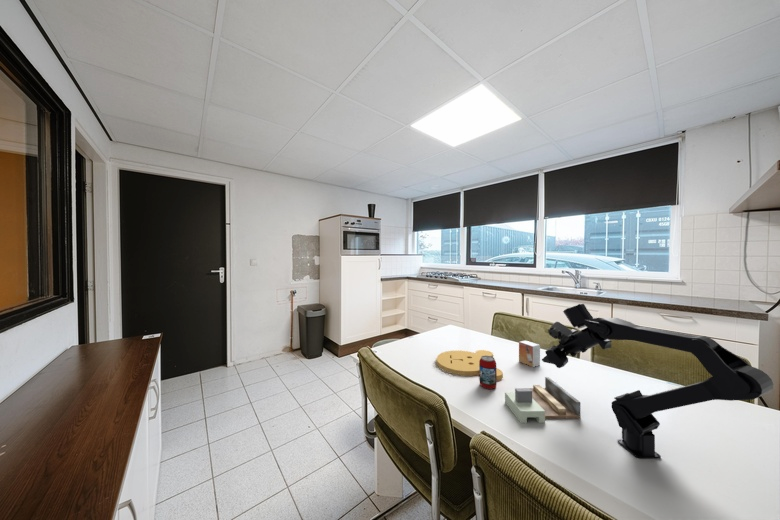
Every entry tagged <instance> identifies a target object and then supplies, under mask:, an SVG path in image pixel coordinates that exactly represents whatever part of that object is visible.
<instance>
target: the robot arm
mask: <svg viewBox="0 0 780 520" xmlns="http://www.w3.org/2000/svg"><path fill="white" fill-rule="evenodd" d="M562 312H563V314H564V315H565V317H566V318H567V320H568V321H569V323H570V324H571V326H572V327H573V328H572V329H570V328H569V327H567V326H566V325H564V324H563V323H561V322H559V321H555V322H554V323H552V324H551V326H550V328H548V329H547V332H548V335H549V336H551V338H553V339H555V340H556V339H557V340H558V345H552V346H550V347H549V348H548V349H546V350H545V351H544V353H545V356H544V357H543V358H541V361H542V362H543V363H547V364H551V365H554V366H555V367H556V368H558V369H561V368H563V367H565V366H566V365H567V364H568V363H569V358H568V357H567V356H569V355H570V356H571V357H572V358H573V357H576V356H577V354H578V353H585V352H587V351H588V350H589V349H591V348H594V347H596V346H600V347H601V349H602V350H608V349H611V348H612V340H613V341H636V342H640V343H645V344H649V345H653V346H658V347H663V348H668V349H672V350H676V351H681V352H687V353H691V354H692V355H693V356H694V357H695V358H697V360H698V361H699V362H700V364H701V365H702V366H703V368H704V369H705V371H707V373H709V374H710V375H711V377H709V378H707V379H705V380H703V381H700V382H695V383H691V384H687V385H684V386H680V387H677V388H672V389H669V390H668V389H667V390H665V391H661V392H656V393H653V394H650V395H648V394H642V391H641V390H640V389H638V390H635V391H632V392H626V393H624V394H621V395H618V396H615V397H613V398H614V400H613V401H612V402H611V410H612V412H613V414H614V415H615V419H616V421H617V423H618V426H619V428H621V439H617V441H616V442H618V443H619V444H620V445H621V446H622V447H624V449H626V450H627V451H628V452H630V453H631V454H632V455H633V456H634V457H635V458H637V459H661V457H662V456H661V455H660V454H659V453H658V452H656V447H655V446H656V443H655V442H656V441H655V440H656V439H655V438H656V436H655V434H654V433H653V431H654V430H657V429H658V428H659V427H660V425H661V423H660V422H659V420H658V419H657V418H656V417H655V416H654V415H653V414H654V413H656V412H663V411H667V410H673V409H676V408H681V407H685V406H691V405H695V404H700V403H705V402H709V401H715V400H716V401H718V400H719V401H732V402H733V401H751V400H756V399H758V398H760V397H762V396H764V395H766V394H768V393H769V392H771V391H773V389H774V388H773V387H774V383H773V379H772V378H771V377H770V375H768V374H767V373H766V372H765V371H764V370H761V369H760V368H757V367H755V366H752V365H751V364H749V363H748V362H747V361H745V359H743V358H742V357H740V356H738V355H737V354H735V353H733V352H732V351H730V350H728V349H727V348H725V347H723V346H722V345H721V344H719V343H718V342H717V341H716V340H715V339H712V338H711V337H708V336H705V335H695V334H694V335H693V334H686V333H681V332H676V331H669V330H665V329H660V328H659V329H658V328H653V327H647V326H640V325H637V324H634V323H632V322H631V321H627V320H625V319H622V318H619V317H609V318H603V317H593V316H592V314H591V312H590V311H589V310H588V308H587V306H586V305H585V303H579V304H576V305H574V306H573V305H572V306H570V307H567V308H565V309H564V310H563V311H562ZM574 328H577V329H581V330H579V331H578V330H577V329H574ZM582 328H583V329H582Z"/></svg>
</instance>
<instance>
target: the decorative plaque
mask: <svg viewBox="0 0 780 520" xmlns="http://www.w3.org/2000/svg"><path fill="white" fill-rule="evenodd" d="M482 356H491V357H493V358H494V353H493V352H491V350H485V349H479V350H476V351H475V352H472V351H468V350H448V351H443V352H441V353H439V354H438V355H437V356H436V365H437V366H438V368H439V369H440V370H442V371H444V372H446V373H449V374H453V375H455V376H456V375H457V376H463V377H475V376H480V373H479V361H480V359H481V357H482ZM496 373H497V381H501V379H502V378H504V377H503V376H504V373H503V371H502V370H501V369H500V368H497V367H496ZM502 380H503V379H502Z"/></svg>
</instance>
